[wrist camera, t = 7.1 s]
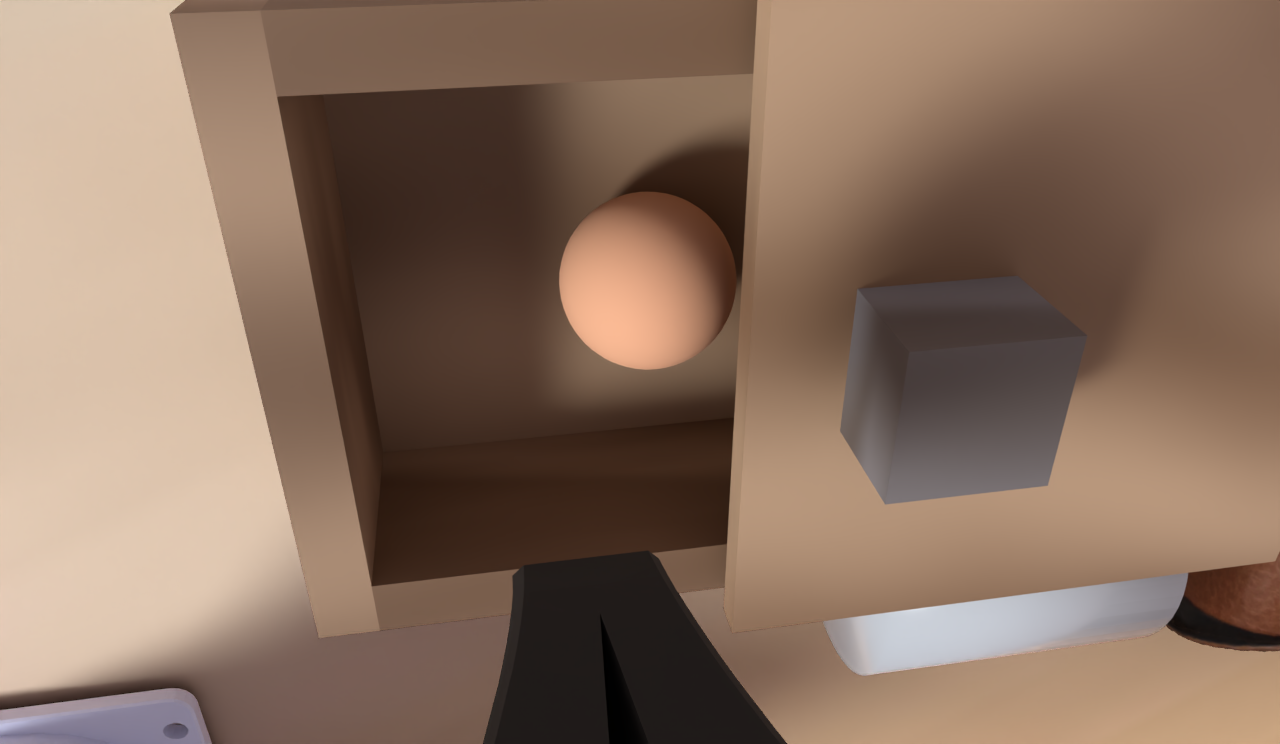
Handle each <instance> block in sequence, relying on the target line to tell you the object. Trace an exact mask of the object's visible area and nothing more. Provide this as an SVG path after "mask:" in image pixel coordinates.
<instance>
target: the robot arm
mask: <svg viewBox="0 0 1280 744" xmlns="http://www.w3.org/2000/svg"><path fill="white" fill-rule="evenodd" d="M512 581H513V597H512V609H511V619H510V627H509V633H508V639H507V645H506V650H505V655H504V660H503V665H502V670H501V675H500V680H499V684H498V688H497V692H496V696H495V700H494V703H493V707H492V711H491V715H490V719H489V722H488V726H487V730H486V734H485V738H484V741H483V744H787V743H786V742H785V740H784V739H783V738H782V737H781V735H780V734H779V733H778V732H777V731H776V729H775V728H774V727H773V725H772V724H771V723H770V722H769V720H768V719H767V718H766V716H765V715H764V714H763V712H762V711H761V710H760V709H759V707H758V706H757V705H756V703H755V702H754V701H753V699H752V698H751V697H750V696H749V694H748V693H747V692H746V690H745V689H744V688H743V686H742V685H741V684H740V682H739V681H738V680H737V679H736V677H735V676H734V675H733V673H732V672H731V670H730V669H729V668H728V666H727V665H726V664H725V662H724V661H723V659H722V658H721V657H720V655H719V654H718V652H717V651H716V649H715V648H714V647H713V645H712V644H711V642H710V641H709V639H708V638H707V636H706V635H705V633H704V632H703V630H702V629H701V627H700V626H699V625H698V623H697V622H696V620H695V619H694V617H693V615H692V614H691V612H690V611H689V609H688V608H687V606H686V605H685V603H684V601H683V600H682V598H681V596H680V595H679V593H678V592H677V590H676V588H675V587H674V585H673V583H672V581H671V580H670V578H669V576H668V575H667V573H666V571H665V569H664V567H663V565H662V563H661V561H660V560H659V558H658V557H656V556H655V555H654V554H652V553H651V552H650V551H648V550H647V551H639V552H631V553H622V554H614V555H605V556H597V557H588V558H580V559H572V560H563V561H555V562H546V563H538V564H529V565H523V566H522V567H521V568H520V569H519V570H518V571H517V572H516V573H515V574H514V575H513V576H512ZM173 723H180V724H182V725H176V724H173ZM0 744H212V742H211V739H210V736H209V733H208V731H207V728H206V725H205V722H204V719H203V716H202V713H201V710H200V707H199V704H198V701H197V700H196V698H195V697H194V695H193V694H191V693H189V692H188V691H186V690H183V689H179V688H167V689H159V690H151V691H144V692H136V693H128V694H121V695H113V696H105V697H97V698H90V699H82V700H74V701H67V702H59V703H51V704H44V705H36V706H28V707H20V708H13V709H5V710H0Z"/></svg>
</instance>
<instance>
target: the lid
mask: <svg viewBox="0 0 1280 744" xmlns="http://www.w3.org/2000/svg"><path fill="white" fill-rule="evenodd" d="M1279 552H1280V0H757V18H756V36H755V54H754V72H753V90H752V108H751V126H750V144H749V162H748V180H747V198H746V216H745V233H744V251H743V269H742V287H741V305H740V323H739V341H738V359H737V377H736V395H735V413H734V431H733V449H732V467H731V485H730V503H729V520H728V538H727V556H726V574H725V592H724V611H725V614H726V617H727V620H728V623H729V626H730V628H731V631H732V633H738V632H745V631H753V630H760V629H768V628H775V627H783V626H790V625H798V624H806V623H813V622H821V621H828V620H836V619H843V618H851V617H858V616H866V615H873V614H881V613H888V612H896V611H904V610H911V609H919V608H926V607H934V606H941V605H949V604H956V603H964V602H971V601H979V600H987V599H994V598H1002V597H1009V596H1017V595H1024V594H1032V593H1039V592H1047V591H1054V590H1062V589H1070V588H1077V587H1085V586H1092V585H1100V584H1107V583H1115V582H1122V581H1130V580H1137V579H1145V578H1153V577H1160V576H1168V575H1175V574H1183V573H1190V572H1198V571H1205V570H1213V569H1220V568H1228V567H1236V566H1243V565H1251V564H1258V563H1266V562H1273V561H1276V558H1277V556H1278V554H1279Z"/></svg>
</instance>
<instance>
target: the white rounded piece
mask: <svg viewBox="0 0 1280 744" xmlns="http://www.w3.org/2000/svg"><path fill="white" fill-rule="evenodd" d="M1187 578H1188V573H1183V574H1175V575H1168V576H1160V577H1153V578H1145V579H1137V580H1130V581H1122V582H1115V583H1107V584H1100V585H1092V586H1085V587H1077V588H1070V589H1062V590H1054V591H1047V592H1039V593H1032V594H1024V595H1017V596H1009V597H1002V598H994V599H987V600H979V601H971V602H964V603H956V604H949V605H941V606H934V607H926V608H919V609H911V610H904V611H896V612H888V613H881V614H873V615H866V616H858V617H851V618H843V619H836V620H828V621H823V624H824V626H825V629H826V631H827V634H828V636H829V638H830V640H831V642H832V644H833V646H834V648H835V650H836V652H837V653H838V655H839V656H840V658H841V659H842V661H843V662H844V663H845V664H846V666H847V667H848V668H850V669H851V670H852V671H853V672H855V673H856V674H858V675H863V676H866V675H873V674H880V673H887V672H895V671H902V670H909V669H916V668H924V667H931V666H938V665H945V664H953V663H960V662H967V661H975V660H982V659H989V658H996V657H1004V656H1011V655H1018V654H1025V653H1033V652H1040V651H1047V650H1054V649H1062V648H1069V647H1076V646H1083V645H1091V644H1098V643H1105V642H1112V641H1120V640H1127V639H1134V638H1141V637H1146V636H1150V635H1152V634H1154V633H1156V632H1158V631H1159V630H1161V629H1162V628H1163V627H1165V626H1166V624H1167V623H1168V622H1169V621H1170V620H1171V619H1172V618H1173V616H1174V614H1175V612H1176V611H1177V609H1178V607H1179V605H1180V603H1181V600H1182V598H1183V595H1184V591H1185V587H1186V583H1187Z"/></svg>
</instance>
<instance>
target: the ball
mask: <svg viewBox="0 0 1280 744" xmlns="http://www.w3.org/2000/svg"><path fill="white" fill-rule="evenodd" d="M559 287H560V295H561V301H562V304H563V308H564V311H565V313H566V316H567V318H568V320H569V322H570V324H571V326H572V327H573V329H574V331H575V332H576V333H577V335H578V336H579V337H580V338H581V339H582V341H583V342H584V343H585V344H586V345H587V346H588V347H589V348H591V349H592V350H593V351H594V352H596V353H597V354H599V355H600V356H602V357H603V358H605V359H607V360H609V361H611V362H613V363H616V364H619V365H622V366H625V367H629V368H634V369H643V370H652V369H661V368H667V367H671V366H674V365H677V364H680V363H682V362H685V361H687V360H689V359H690V358H692V357H694V356H696V355H697V354H699V353H700V352H701V351H703V350H704V349H705V348H706V347H707V346H709V345H710V344H711V342H712V341H713V340H714V339H715V338H716V337H717V336H718V334H719V333H720V331H721V330H722V328H723V327H724V325H725V323H726V321H727V319H728V317H729V315H730V313H731V310H732V307H733V303H734V299H735V293H736V269H735V262H734V258H733V254H732V251H731V248H730V246H729V244H728V242H727V240H726V238H725V236H724V234H723V233H722V231H721V230H720V228H719V227H718V226H717V224H716V223H715V222H714V221H713V220H712V219H711V218H710V217H709V216H708V215H707V214H706V213H705V212H704V211H702V210H701V209H700V208H698V207H697V206H695V205H693V204H692V203H690V202H688V201H687V200H684V199H682V198H680V197H677V196H674V195H670V194H666V193H659V192H636V193H630V194H626V195H622V196H619V197H616V198H614V199H611V200H609V201H607V202H605V203H604V204H602V205H600V206H599V207H597V208H596V209H595V210H593V211H592V212H591V213H590V214H589V215H588V216H586V217H585V218H584V219H583V221H582V222H581V223H580V224H579V225H578V227H577V228H576V229H575V231H574V232H573V234H572V236H571V237H570V239H569V241H568V243H567V245H566V247H565V251H564V254H563V257H562V261H561V266H560V272H559Z"/></svg>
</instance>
